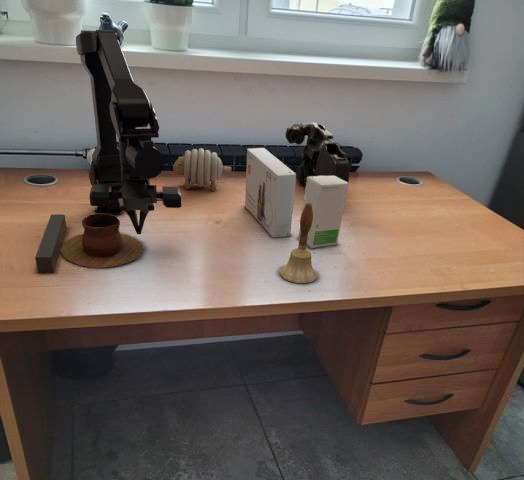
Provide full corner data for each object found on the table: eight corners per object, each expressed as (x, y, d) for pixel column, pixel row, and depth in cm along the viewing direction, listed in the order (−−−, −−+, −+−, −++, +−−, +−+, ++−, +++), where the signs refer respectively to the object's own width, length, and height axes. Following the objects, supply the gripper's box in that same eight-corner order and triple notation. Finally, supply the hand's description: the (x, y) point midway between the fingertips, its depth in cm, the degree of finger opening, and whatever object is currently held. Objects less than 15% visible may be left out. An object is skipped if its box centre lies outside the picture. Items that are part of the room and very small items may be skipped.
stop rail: (38, 272, 104) (35, 257, 102) (53, 228, 121) (51, 214, 119) (53, 272, 105) (50, 257, 103) (66, 228, 122) (64, 214, 120)
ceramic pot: (159, 253, 116) (158, 224, 111) (88, 276, 105) (84, 244, 100) (114, 226, 125) (112, 198, 121) (45, 245, 114) (40, 214, 110)
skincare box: (242, 206, 143) (246, 147, 134) (260, 205, 145) (265, 147, 135) (271, 238, 128) (277, 174, 118) (291, 236, 130) (299, 173, 120)
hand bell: (277, 265, 116) (286, 196, 107) (313, 266, 117) (324, 198, 108) (281, 283, 110) (290, 211, 100) (319, 284, 111) (332, 213, 101)
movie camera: (274, 171, 168) (283, 115, 157) (325, 175, 172) (337, 120, 162) (299, 211, 145) (311, 148, 134) (357, 214, 149) (374, 154, 138)
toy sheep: (173, 180, 155) (172, 142, 148) (228, 182, 158) (230, 145, 151) (173, 192, 147) (173, 153, 140) (232, 194, 150) (234, 155, 143)
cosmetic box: (310, 249, 125) (320, 185, 115) (296, 238, 129) (305, 176, 120) (338, 244, 128) (350, 182, 119) (324, 234, 133) (334, 173, 123)
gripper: (82, 173, 97) (91, 249, 106) (182, 176, 101) (182, 250, 110) (88, 156, 106) (96, 227, 115) (180, 159, 109) (180, 228, 119)
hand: (138, 233), depth 114 cm, fingers closed
